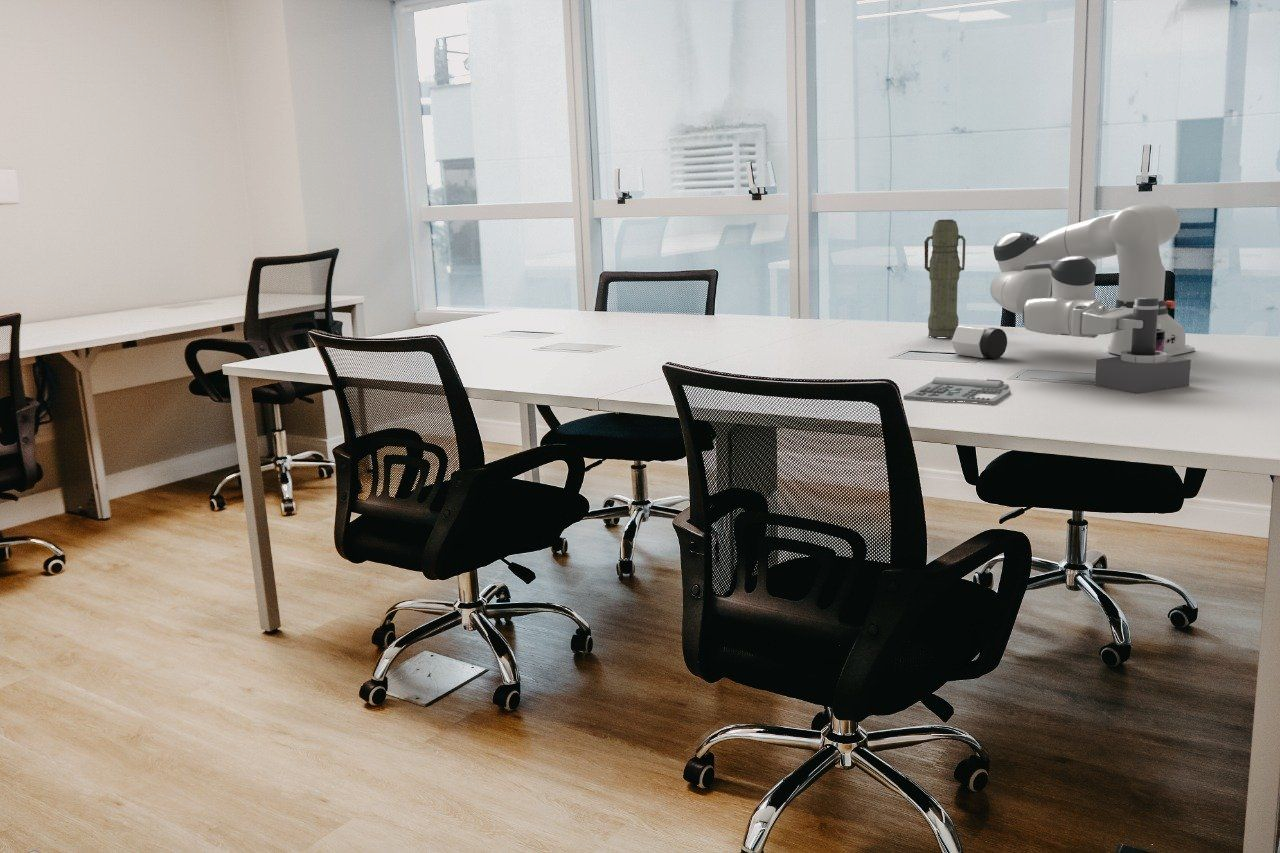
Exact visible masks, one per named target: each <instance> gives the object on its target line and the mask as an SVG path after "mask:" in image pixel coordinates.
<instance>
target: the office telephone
mask: <svg viewBox="0 0 1280 853" xmlns="http://www.w3.org/2000/svg"><path fill="white" fill-rule="evenodd" d="M1009 386H1010V384H1007V383H1004V381H1003V380H1001V379H999V380H998V379H976V378H975V379H974V378H959V377H944V376H935V377H934V378H933V380H932V381H930V382H928V383H926V384H924V385H922V386H920V387H919V388H916V389H914V390H912V391H910V392H908V393H905V394H904V395H903V400H907V399H909V401H911V400H910V399H915V400H914V401H920V400H931V401H930V402H934V401H948V402H947V403H949V402H953V401H963V402H964V401H965V402H977V403H988V404H995V403H997V402H998V403H1000V402H1001V401H1003V400H1004V399H1005V398H1007V397H1008V396H1010V395H1011V393H1012V390H1011V389H1008V388H1009ZM1006 388H1007V389H1006ZM1005 389H1006V390H1005ZM977 392H988V393H998V394H996V395H995V396H994V397H992V398H989V397H987V398H986V397H982V398H981V397H979V396H978V397H975V395H976V394H975V393H977ZM988 393H987V394H988ZM974 394H975V395H974ZM977 394H978V393H977ZM972 395H974V396H972ZM1007 395H1008V396H1007ZM971 396H972V397H971ZM1006 396H1007V397H1006ZM970 397H971V398H970ZM1004 397H1005V398H1004ZM1003 398H1004V399H1003ZM1002 399H1003V400H1002ZM932 400H933V401H932ZM1000 400H1001V401H1000ZM999 401H1000V402H999ZM953 403H954V402H953ZM998 403H997V404H998ZM988 404H987V405H988ZM995 405H996V404H995Z"/></svg>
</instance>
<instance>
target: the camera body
mask: <svg viewBox="0 0 1280 853" xmlns="http://www.w3.org/2000/svg"><path fill="white" fill-rule="evenodd" d="M1191 362H1192V360H1191V358H1190V359H1189V358H1184V357H1176V356H1167V354H1166V352H1162V351H1155V355H1153V356H1144V355H1132V354H1131V350H1127V351H1121V355H1119V356H1113V357H1106V358H1105V357H1104V358H1099V359H1098V358H1097V359H1096V364H1095V365H1096V366H1095V379H1094V380H1095V381H1094V386H1097V385H1098V386H1097V387H1102V386H1103V387H1102V388H1107V389H1113V390H1116V391H1117V390H1118V391H1123V392H1127V393H1128V392H1129V393H1133V394H1142V393H1150V392H1156V391H1162V390H1169V389H1175V388H1181V387H1188V386H1190V377H1191V376H1190V375H1191Z"/></svg>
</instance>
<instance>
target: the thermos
mask: <svg viewBox="0 0 1280 853" xmlns="http://www.w3.org/2000/svg"><path fill="white" fill-rule="evenodd" d="M931 232H932V233H931V235H930V236H927V237H926V239H925V240H924V269H925V270H926V271H927V272H928V276H929V277H928V278H929V282H930V306H929V309H930V311H929V315H928V318H927V322H928V323H927V328H928V336H931V337H953V336H954V333H955V331H956V328H957V326H959V315H958V286H959V285H958V282H959V280H960V272H962V271H965V265H966V262H965V261H966V239H965V237H964V236H963V235H960V234H959V227H958V223H957V221H956V220H955V219H938V220H936V221H935V222H934V225H933V228H932V231H931ZM960 239H961V240H962V256H961V257H962V258H961V260H962V261H960V257H959V250H958V246H959V240H960ZM930 240H931V246H932V251H931V257H930V259H929V241H930ZM960 262H961V263H960ZM931 337H930V338H931Z"/></svg>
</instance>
